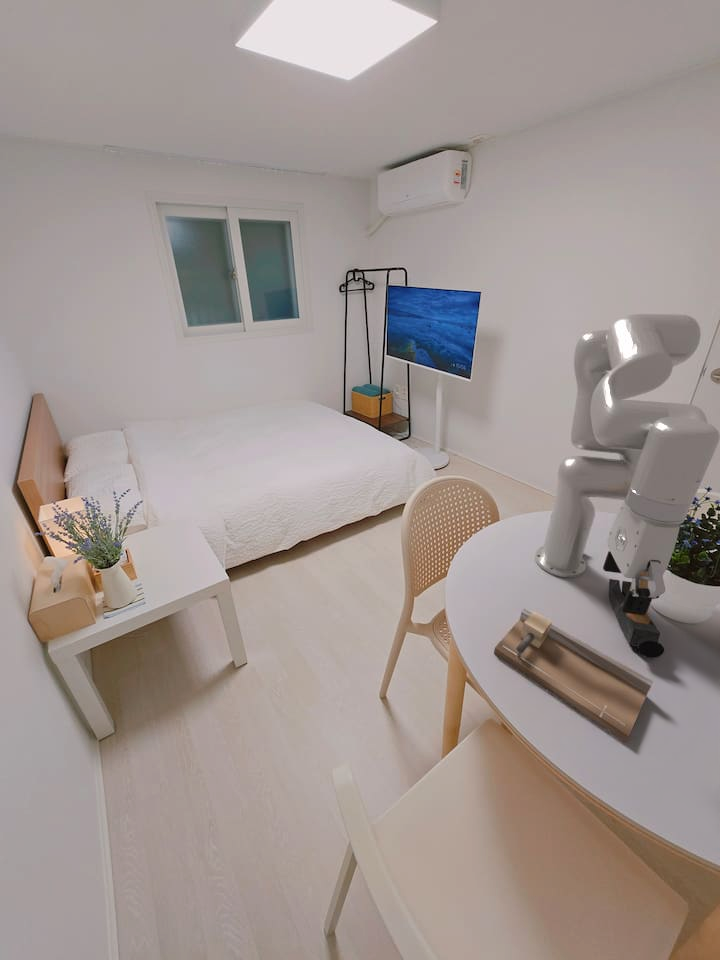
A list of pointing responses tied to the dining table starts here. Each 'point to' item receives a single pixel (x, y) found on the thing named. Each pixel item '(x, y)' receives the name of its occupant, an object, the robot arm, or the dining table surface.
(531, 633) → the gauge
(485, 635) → the dining table surface
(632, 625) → the hammer
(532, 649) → the board
